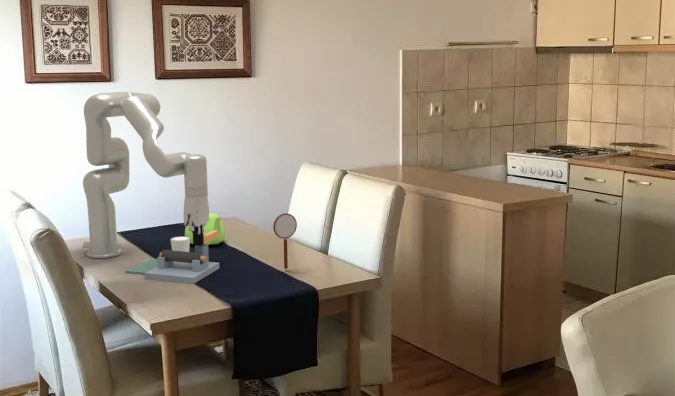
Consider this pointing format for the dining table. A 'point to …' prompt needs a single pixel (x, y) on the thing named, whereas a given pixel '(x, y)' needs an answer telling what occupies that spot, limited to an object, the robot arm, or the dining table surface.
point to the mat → (143, 267)
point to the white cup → (180, 244)
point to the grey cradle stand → (183, 268)
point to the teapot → (210, 229)
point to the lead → (182, 256)
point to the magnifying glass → (285, 231)
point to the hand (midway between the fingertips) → (198, 244)
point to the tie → (210, 236)
